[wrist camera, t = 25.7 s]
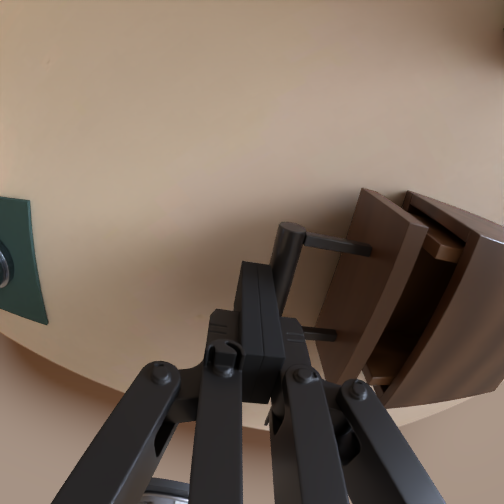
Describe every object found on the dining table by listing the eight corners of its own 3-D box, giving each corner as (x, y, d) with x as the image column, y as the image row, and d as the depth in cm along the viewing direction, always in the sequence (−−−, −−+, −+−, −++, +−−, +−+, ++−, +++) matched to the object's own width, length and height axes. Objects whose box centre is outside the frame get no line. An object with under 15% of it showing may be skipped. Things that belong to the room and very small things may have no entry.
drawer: (245, 324, 22) (246, 390, 16) (280, 168, 17) (299, 195, 11) (432, 339, 24) (462, 385, 18) (485, 227, 19) (535, 262, 13)
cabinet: (351, 334, 24) (381, 409, 16) (407, 190, 19) (480, 234, 11) (457, 338, 25) (494, 391, 18) (510, 229, 20) (567, 269, 13)
